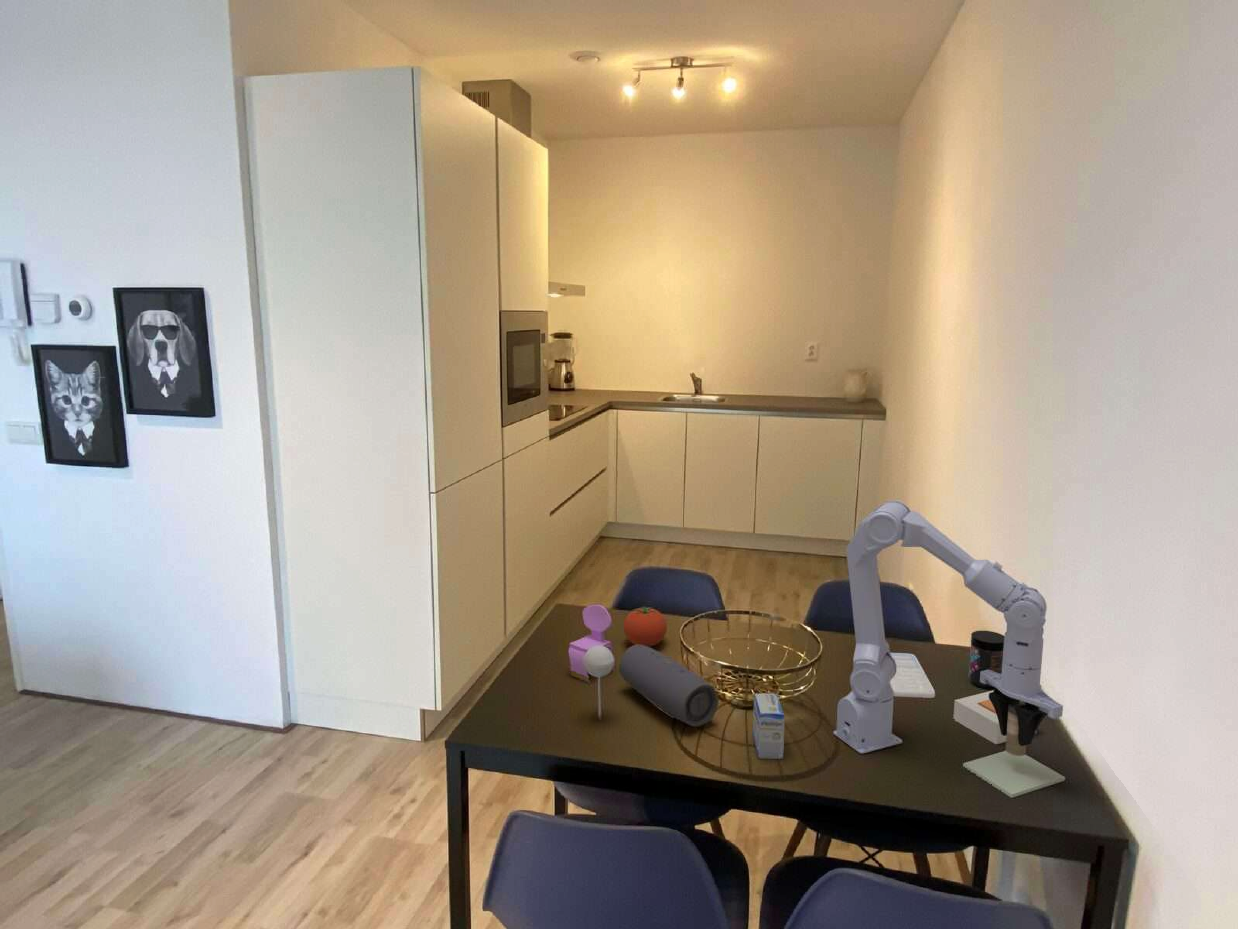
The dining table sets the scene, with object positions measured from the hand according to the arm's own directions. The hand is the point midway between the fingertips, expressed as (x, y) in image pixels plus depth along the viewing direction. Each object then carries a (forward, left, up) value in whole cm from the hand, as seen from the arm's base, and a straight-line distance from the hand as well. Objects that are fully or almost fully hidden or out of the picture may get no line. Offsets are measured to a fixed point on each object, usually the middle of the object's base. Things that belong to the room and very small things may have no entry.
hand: (1015, 739), depth 133 cm
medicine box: (-33, +24, -7) cm, 41 cm away
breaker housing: (+10, +13, -6) cm, 18 cm away
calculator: (+8, +38, -7) cm, 39 cm away
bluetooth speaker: (-43, +45, -7) cm, 63 cm away
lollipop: (-57, +46, -6) cm, 74 cm away
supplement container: (+23, +27, -7) cm, 36 cm away
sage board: (0, 0, -6) cm, 6 cm away
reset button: (+10, +13, -5) cm, 17 cm away
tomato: (-34, +75, -7) cm, 83 cm away
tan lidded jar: (0, 0, -2) cm, 2 cm away
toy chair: (-51, +66, -7) cm, 84 cm away
